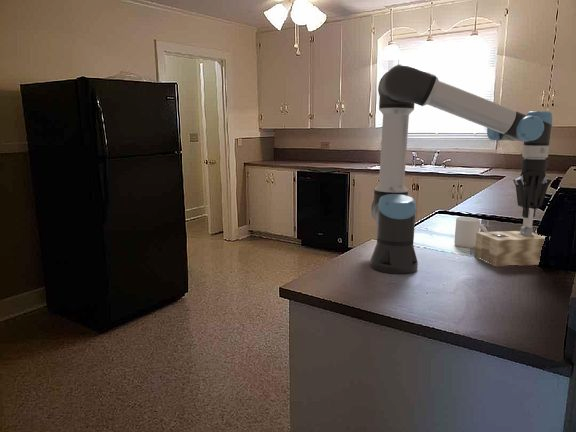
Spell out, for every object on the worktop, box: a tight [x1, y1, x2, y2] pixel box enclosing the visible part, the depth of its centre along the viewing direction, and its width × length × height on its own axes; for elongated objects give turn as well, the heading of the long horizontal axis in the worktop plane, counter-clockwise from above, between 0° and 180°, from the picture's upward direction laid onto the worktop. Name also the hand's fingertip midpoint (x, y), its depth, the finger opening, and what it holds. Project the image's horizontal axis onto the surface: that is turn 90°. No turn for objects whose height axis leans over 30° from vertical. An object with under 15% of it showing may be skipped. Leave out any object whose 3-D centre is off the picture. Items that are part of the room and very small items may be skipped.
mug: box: [453, 216, 488, 249], centre depth 170 cm, size 9×12×11 cm
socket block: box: [473, 230, 546, 267], centre depth 152 cm, size 20×12×9 cm, turn 99°
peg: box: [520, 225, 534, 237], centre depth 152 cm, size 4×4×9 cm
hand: (527, 226), depth 151 cm, fingers closed
